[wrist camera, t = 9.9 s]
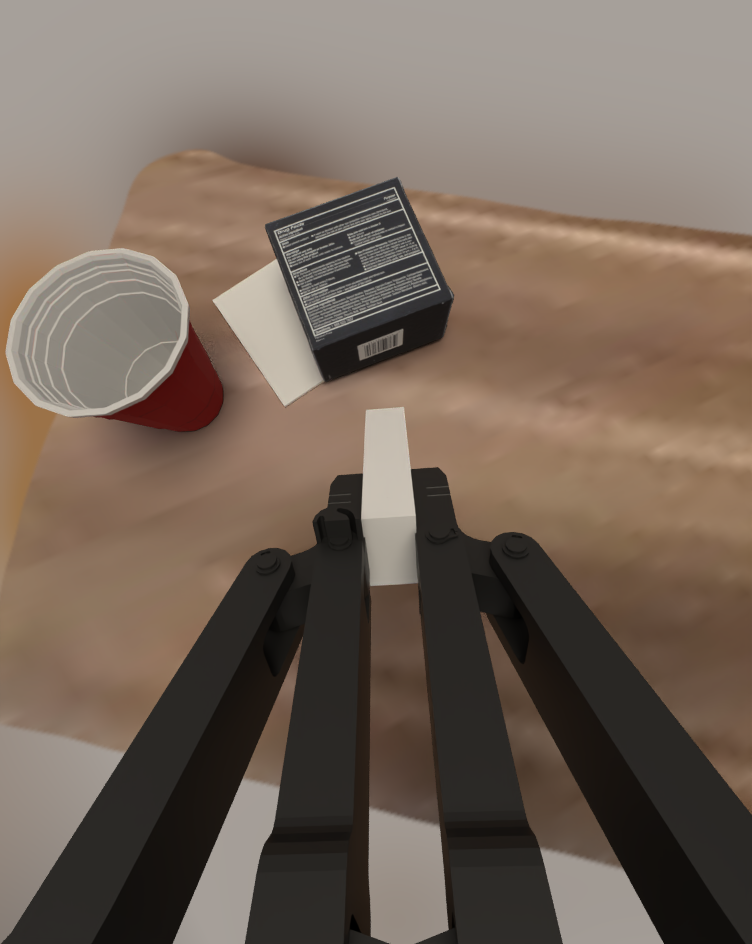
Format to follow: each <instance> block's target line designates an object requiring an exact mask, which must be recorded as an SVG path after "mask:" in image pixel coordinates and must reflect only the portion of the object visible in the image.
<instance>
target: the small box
mask: <svg viewBox="0 0 752 944" xmlns="http://www.w3.org/2000/svg"><path fill="white" fill-rule="evenodd" d="M265 229H266V232H267V234H268V237H269V240H270V242H271V245H272V248H273V251H274V253H275V256H276V259H277V261H278V264H279V266H280V269H281V272H282V274H283V277H284V280H285V282H286V285H287V288H288V291H289V293H290V296H291V299H292V301H293V304H294V307H295V309H296V312H297V315H298V317H299V320H300V322H301V325H302V327H303V330H304V332H305V335H306V338H307V340H308V343H309V345H310V349H311V352H312V354H313V357H314V359H315V361H316V364H317V366H318V369H319V371H320V374H321V376H322V378H323V380H324V382H327V381H329V380H332V379H335V378H337V377H340V376H342V375H345V374H348V373H350V372H353V371H355V370H358V369H361V368H363V367H366V366H369V365H372V364H374V363H377V362H379V361H382V360H385V359H387V358H390V357H393V356H395V355H398V354H401V353H403V352H406V351H409V350H411V349H414V348H417V347H419V346H422V345H425V344H427V343H430V342H433V341H435V340H438V339H441V338H443V336H444V333H445V330H446V327H447V322H448V317H449V313H450V309H451V305H452V303H453V300H454V294H453V292H452V291H451V289H450V288H449V286H448V285H447V283H446V281H445V279H444V276H443V274H442V272H441V270H440V268H439V265H438V264H437V261H436V259H435V257H434V254H433V252H432V250H431V248H430V246H429V244H428V241H427V239H426V237H425V235H424V233H423V231H422V229H421V226H420V224H419V222H418V220H417V218H416V215H415V214H414V211H413V209H412V207H411V205H410V203H409V200H408V198H407V196H406V194H405V192H404V189H403V186H402V183H401V181H400V179H399V178H398V177H396V178H393V179H390V180H387V181H384V182H382V183H379V184H376V185H373V186H371V187H368V188H365V189H363V190H359V191H357V192H354V193H351V194H349V195H346V196H343V197H340V198H337V199H335V200H332V201H329V202H326V203H323V204H321V205H318V206H315V207H313V208H310V209H307V210H304V211H301V212H299V213H296V214H293V215H290V216H287V217H284V218H281V219H279V220H276V221H273V222H270V223H267V224H265Z"/></svg>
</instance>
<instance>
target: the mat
mask: <svg viewBox="0 0 752 944" xmlns="http://www.w3.org/2000/svg"><path fill="white" fill-rule="evenodd" d="M213 302H214V303H215V305H216V306H217V308H218V309H219V311H220V312H221V314H222V315H223V316H224V318H225V319H226V321H227V322H228V324H229V325H230V327H231V328H232V330H233V331H234V333H235V334H236V336H237V337H238V339H239V340H240V341H241V343H242V344H243V346H244V347H245V349H246V350H247V352H248V353H249V355H250V356H251V358H252V359H253V361H254V362H255V364H256V365H257V366H258V368H259V369H260V371H261V372H262V374H263V375H264V377H265V378H266V380H267V381H268V383H269V384H270V386H271V387H272V389H273V390H274V392H275V393H276V394H277V396H278V397H279V399H280V400H281V402H282V403H283V405H284V406H285V407H287V406H288V405H290V404H291V403H293V402H294V401H296V400H297V399H299V398H300V397H302V396H303V395H305V394H306V393H308V392H309V391H311V390H312V389H314V388H315V387H317V386H318V385H320V384H321V383H323V382H324V380H323V378H322V376H321V374H320V371H319V369H318V366H317V364H316V361H315V359H314V357H313V354H312V352H311V349H310V345H309V343H308V340H307V338H306V335H305V332H304V330H303V327H302V325H301V322H300V320H299V317H298V315H297V312H296V309H295V307H294V304H293V301H292V299H291V296H290V293H289V291H288V288H287V285H286V282H285V280H284V277H283V274H282V272H281V269H280V266H279V264H278V261H277V259H276V260H274V261H273V262H271V263H270V264H268V265H266V266H265V267H263V268H262V269H260V270H259V271H257V272H256V273H254V274H252V275H251V276H249V277H248V278H246V279H245V280H243V281H242V282H240V283H239V284H237V285H235V286H234V287H232V288H231V289H229V290H228V291H226V292H225V293H223V294H222V295H220V296H218V297H217V298H215V299H214V300H213Z"/></svg>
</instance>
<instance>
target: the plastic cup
mask: <svg viewBox="0 0 752 944" xmlns="http://www.w3.org/2000/svg"><path fill="white" fill-rule="evenodd" d="M189 315H190V308H189V305H188V302H187V300H186V297H185V295H184V293H183V290H182V288H181V285H180V283H179V281H178V278H177V276H176V275H175V274H174V273H172V272H171V271H170V270H169V269H168V268H167V267H165V266H164V265H163V264H162V263H161V262H159V261H158V260H157V259H156V258H155V257H153V256H150V255H146V254H143V253H139V252H135V251H132V250H128V249H125V248H118V249H108V250H97V251H89V252H86V253H84V254H82V255H80V256H77V257H75V258H73V259H70V260H68V261H66V262H63V263H61V264H59V265H57V266H55V267H54V268H53V269H52V270H51V271H50V272H48V273H47V274H46V275H45V276H44V277H43V278H42V279H40V280H39V281H38V282H37V283H36V284H35V285H34V286H32V287H31V288H30V289H29V290H28V292H27V294H26V295H25V297H24V299H23V300H22V302H21V304H20V305H19V307H18V309H17V311H16V312H15V314H14V316H13V317H12V319H11V323H10V329H9V335H8V341H7V346H6V356H7V360H8V363H9V367H10V370H11V374H12V378H13V381H14V383H15V384H16V385H17V386H18V387H19V389H20V390H21V391H22V392H23V393H24V394H25V395H26V396H27V397H28V398H29V399H30V400H31V401H32V402H33V403H34V404H35V405H36V406H39V407H41V408H44V409H47V410H50V411H53V412H56V413H59V414H61V415H64V416H67V417H73V418H78V417H91V416H93V417H102V418H106V419H116V420H120V421H125V422H130V423H134V424H139V425H144V426H148V427H153V428H157V429H168V430H173V431H178V432H180V431H194V430H198V429H200V428H202V427H204V426H206V425H208V424H209V423H210V422H211V421H212V420H213V419H214V418H215V417H216V416H217V415H218V413H219V411H220V408H221V406H222V403H223V388H222V384H221V382H220V380H219V377H218V375H217V373H216V371H215V370H214V368H213V366H212V364H211V361H210V359H209V357H208V355H207V353H206V351H205V349H204V348H203V346H202V344H201V342H200V340H199V338H198V337H197V335H196V333H195V331H194V329H193V327H192V325H191V322H190V320H189Z"/></svg>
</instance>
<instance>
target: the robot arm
mask: <svg viewBox="0 0 752 944" xmlns="http://www.w3.org/2000/svg"><path fill="white" fill-rule="evenodd" d="M313 527H314V531H315V536H316V540H317V544H316V545H315V546H314V547H312V548H311V549H309V550H307V551H304V552H302V553H298V554H295V555H292V556H290V554H289V553H287V552H286V551H285V550H282V549H279V548H268V549H265V550H262V551H259V552H258V553H256V554H254V555H253V556H252V557H251V558H250V559H249V560H248V561H247V562H246V564H245V565H244V567H243V568H242V570H241V572H240V573H239V575H238V576H237V578H236V580H235V581H234V583H233V584H232V586H231V587H230V589H229V591H228V592H227V594H226V595H225V597H224V598H223V600H222V602H221V603H220V605H219V606H218V608H217V609H216V611H215V613H214V614H213V616H212V617H211V619H210V620H209V622H208V624H207V625H206V627H205V628H204V630H203V631H202V633H201V635H200V636H199V638H198V639H197V641H196V643H195V644H194V646H193V647H192V649H191V650H190V652H189V654H188V655H187V657H186V658H185V660H184V661H183V663H182V665H181V666H180V668H179V669H178V671H177V672H176V674H175V676H174V677H173V679H172V680H171V682H170V683H169V685H168V687H167V688H166V690H165V691H164V693H163V695H162V696H161V698H160V699H159V701H158V702H157V704H156V706H155V707H154V709H153V710H152V712H151V713H150V715H149V717H148V718H147V720H146V721H145V723H144V724H143V726H142V728H141V729H140V731H139V732H138V734H137V735H136V737H135V739H134V740H133V742H132V743H131V745H130V746H129V748H128V750H127V751H126V753H125V754H124V756H123V758H122V759H121V761H120V762H119V764H118V765H117V767H116V769H115V770H114V772H113V773H112V775H111V777H110V778H109V780H108V781H107V783H106V784H105V786H104V788H103V789H102V791H101V792H100V794H99V795H98V797H97V798H96V800H95V802H94V803H93V805H92V806H91V808H90V810H89V811H88V813H87V814H86V816H85V817H84V819H83V821H82V822H81V824H80V825H79V827H78V828H77V830H76V832H75V833H74V835H73V836H72V838H71V839H70V841H69V843H68V844H67V846H66V848H65V849H64V851H63V852H62V854H61V855H60V857H59V858H58V860H57V861H56V863H55V865H54V866H53V868H52V870H51V871H50V873H49V874H48V876H47V877H46V879H45V880H44V882H43V884H42V885H41V887H40V888H39V890H38V891H37V893H36V895H35V896H34V898H33V899H32V901H31V902H30V904H29V906H28V907H27V909H26V910H25V912H24V913H23V915H22V917H21V918H20V920H19V922H18V923H17V924H16V926H15V928H14V929H13V931H12V933H11V934H10V935H9V936H8V937H7V938H6V939H5V940H4V941H3V942H2V943H1V944H173V941H174V939H175V937H176V934H177V932H178V929H179V927H180V925H181V922H182V920H183V918H184V915H185V913H186V910H187V908H188V906H189V904H190V901H191V899H192V896H193V894H194V892H195V889H196V887H197V885H198V882H199V880H200V878H201V875H202V873H203V871H204V868H205V866H206V863H207V861H208V859H209V856H210V854H211V852H212V849H213V847H214V845H215V842H216V840H217V838H218V835H219V833H220V830H221V828H222V825H223V823H224V821H225V819H226V816H227V814H228V811H229V809H230V807H231V804H232V802H233V800H234V797H235V795H236V793H237V790H238V788H239V786H240V783H241V781H242V779H243V776H244V774H245V771H246V769H247V767H248V764H249V762H250V760H251V757H252V755H253V753H254V750H255V748H256V745H257V743H258V741H259V738H260V736H261V734H262V731H263V729H264V727H265V724H266V722H267V720H268V717H269V715H270V712H271V710H272V708H273V705H274V703H275V701H276V698H277V696H278V694H279V691H280V689H281V686H282V684H283V682H284V679H285V677H286V675H287V672H288V670H289V668H290V665H291V663H292V661H293V658H294V656H295V653H296V651H297V649H298V646H299V644H300V642H301V639H302V637H303V640H302V647H301V653H300V660H299V666H298V673H297V679H296V686H295V692H294V699H293V706H292V712H291V719H290V725H289V732H288V738H287V745H286V751H285V758H284V764H283V771H282V778H281V784H280V791H279V797H278V805H277V810H276V817H275V822H274V827H273V830H272V833H271V835H270V836H269V838H268V839H267V841H266V842H265V844H264V846H263V849H262V852H261V855H260V860H259V864H258V869H257V874H256V881H255V886H254V892H253V899H252V904H251V910H250V916H249V922H248V928H247V934H246V940H245V944H389V943H386V942H383V941H381V940H378V939H375V938H373V937H371V934H370V933H371V929H370V928H371V923H370V922H371V919H370V918H371V916H370V895H369V879H368V878H369V876H368V855H369V852H368V851H369V759H370V660H371V596H370V586H378V585H395V584H413V583H418V589H419V610H420V615H421V626H422V636H423V647H424V658H425V669H426V680H427V691H428V701H429V712H430V723H431V734H432V745H433V756H434V766H435V777H436V788H437V799H438V810H439V821H440V831H441V842H442V853H443V864H444V874H445V875H444V876H445V887H446V888H445V889H446V903H447V915H448V927H449V930H448V931H445V932H443V933H440V934H438V935H436V936H433V937H431V938H428V939H426V940H424V941H421V942H419V943H416V944H563V943H562V938H561V934H560V930H559V926H558V922H557V917H556V913H555V909H554V904H553V900H552V896H551V892H550V887H549V883H548V879H547V875H546V870H545V866H544V863H543V859H542V855H541V851H540V848H539V845H538V842H537V839H536V836H535V834H534V833H533V831H532V830H531V828H530V827H529V824H528V821H527V818H526V814H525V810H524V806H523V801H522V797H521V792H520V788H519V783H518V779H517V775H516V770H515V766H514V761H513V757H512V752H511V748H510V743H509V739H508V735H507V730H506V726H505V721H504V717H503V712H502V708H501V703H500V699H499V694H498V690H497V686H496V681H495V677H494V672H493V668H492V663H491V659H490V654H489V650H488V645H487V641H486V637H485V632H484V628H483V623H482V619H481V614H480V612H484V613H486V614H487V617H488V619H489V621H490V623H491V625H492V627H493V629H494V630H495V632H496V634H497V636H498V638H499V640H500V641H501V643H502V645H503V647H504V649H505V651H506V653H507V654H508V656H509V658H510V660H511V662H512V664H513V665H514V667H515V669H516V671H517V673H518V675H519V677H520V678H521V680H522V682H523V684H524V686H525V688H526V690H527V691H528V693H529V695H530V697H531V699H532V701H533V702H534V704H535V706H536V708H537V710H538V712H539V714H540V715H541V717H542V719H543V721H544V723H545V725H546V727H547V728H548V730H549V732H550V734H551V736H552V738H553V739H554V741H555V743H556V745H557V747H558V749H559V751H560V752H561V754H562V756H563V758H564V760H565V762H566V763H567V765H568V767H569V769H570V771H571V773H572V775H573V776H574V778H575V780H576V782H577V784H578V786H579V788H580V789H581V791H582V793H583V795H584V797H585V799H586V800H587V802H588V804H589V806H590V808H591V810H592V812H593V813H594V815H595V817H596V819H597V821H598V823H599V825H600V826H601V828H602V830H603V832H604V834H605V836H606V837H607V839H608V841H609V843H610V845H611V847H612V849H613V850H614V852H615V854H616V856H617V858H618V860H619V861H620V863H621V865H622V867H623V869H624V871H625V873H626V874H627V876H628V878H629V880H630V882H631V884H632V885H633V887H634V889H635V891H636V893H637V895H638V896H639V898H640V900H641V902H642V904H643V906H644V908H645V909H646V911H647V913H648V915H649V917H650V919H651V921H652V922H653V924H654V926H655V928H656V930H657V932H658V933H659V935H660V937H661V939H662V941H663V943H664V944H752V815H751V814H750V812H749V811H748V810H747V808H746V807H745V806H744V805H743V803H742V802H741V801H740V800H739V798H738V797H737V796H736V795H735V793H734V792H733V791H732V789H731V788H730V787H729V786H728V784H727V783H726V782H725V781H724V779H723V778H722V777H721V775H720V774H719V773H718V772H717V770H716V769H715V768H714V767H713V765H712V764H711V763H710V761H709V760H708V759H707V758H706V756H705V755H704V754H703V753H702V751H701V750H700V749H699V747H698V746H697V745H696V744H695V742H694V741H693V740H692V739H691V737H690V736H689V735H688V733H687V732H686V731H685V730H684V728H683V727H682V726H681V725H680V723H679V722H678V721H677V719H676V718H675V717H674V716H673V714H672V713H671V712H670V711H669V709H668V708H667V707H666V705H665V704H664V703H663V702H662V700H661V699H660V698H659V697H658V695H657V694H656V693H655V692H654V690H653V689H652V688H651V686H650V685H649V684H648V683H647V681H646V680H645V679H644V678H643V676H642V675H641V674H640V672H639V671H638V670H637V669H636V667H635V666H634V665H633V664H632V662H631V661H630V660H629V658H628V657H627V656H626V655H625V653H624V652H623V651H622V650H621V648H620V647H619V646H618V644H617V643H616V642H615V641H614V639H613V638H612V637H611V636H610V634H609V633H608V632H607V630H606V629H605V628H604V627H603V625H602V624H601V623H600V622H599V620H598V619H597V618H596V616H595V615H594V614H593V613H592V611H591V610H590V609H589V608H588V606H587V605H586V604H585V602H584V601H583V600H582V599H581V597H580V596H579V595H578V594H577V592H576V591H575V590H574V589H573V587H572V586H571V585H570V583H569V582H568V581H567V580H566V578H565V577H564V576H563V575H562V573H561V572H560V571H559V569H558V568H557V567H556V566H555V564H554V563H553V562H552V561H551V559H550V558H549V557H548V555H547V554H546V553H545V552H544V550H543V549H542V548H541V547H540V545H539V544H538V543H537V542H536V541H535V540H534V539H532V538H531V537H529V536H527V535H525V534H522V533H516V532H509V533H503V534H500V535H498V536H496V537H495V538H494V539H493V540H492V542H487V541H481V540H477V539H473V538H471V537H469V536H467V535H466V534H464V533H463V532H462V531H461V530H460V528H458V525H457V522H456V518H455V513H454V509H453V504H452V500H451V495H450V491H449V487H448V482H447V477H446V475H445V474H444V473H443V472H442V471H441V470H440V469H439V468H438V467H436V468H421V469H411V468H410V459H409V450H408V441H407V432H406V422H405V413H404V407H397V408H385V409H372V410H366V421H365V443H364V466H363V474H349V475H338V476H337V477H336V478H335V480H334V481H333V482H332V484H331V486H330V493H329V500H328V507H327V508H326V509H324V510H321V511H320V512H319V513H318V514H317V515H316V516H315V518H314V520H313Z"/></svg>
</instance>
